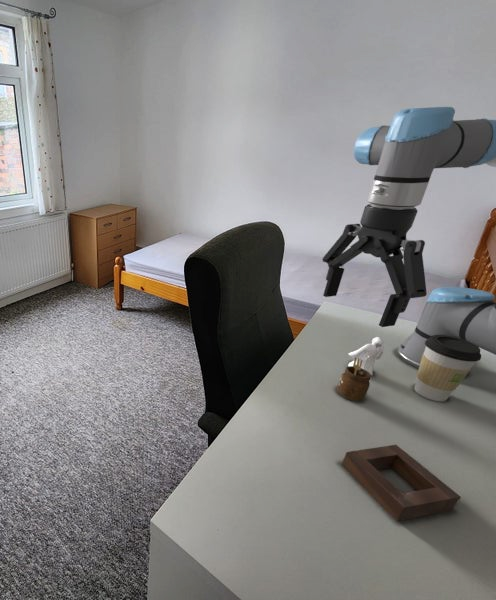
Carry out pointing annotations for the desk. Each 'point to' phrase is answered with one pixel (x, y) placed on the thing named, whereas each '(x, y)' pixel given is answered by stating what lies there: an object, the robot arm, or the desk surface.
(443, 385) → the coffee cup
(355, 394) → the utensil holder
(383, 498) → the wooden frame
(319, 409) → the desk surface
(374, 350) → the figurine
